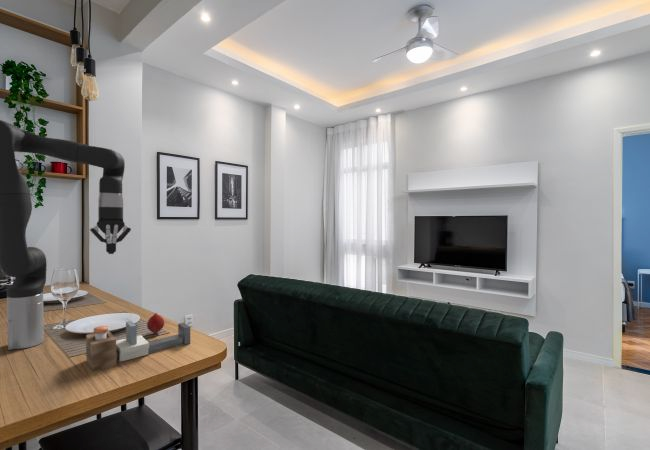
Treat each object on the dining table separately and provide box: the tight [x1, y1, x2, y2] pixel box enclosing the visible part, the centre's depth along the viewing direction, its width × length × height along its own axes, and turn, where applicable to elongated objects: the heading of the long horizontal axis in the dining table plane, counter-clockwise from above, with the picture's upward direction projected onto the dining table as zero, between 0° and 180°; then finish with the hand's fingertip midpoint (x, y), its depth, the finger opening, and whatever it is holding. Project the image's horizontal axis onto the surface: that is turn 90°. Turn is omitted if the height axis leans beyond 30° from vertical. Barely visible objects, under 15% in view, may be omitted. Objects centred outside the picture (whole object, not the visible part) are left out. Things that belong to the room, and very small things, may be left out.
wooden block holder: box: [85, 329, 117, 373], centre depth 102 cm, size 6×10×8 cm, turn 44°
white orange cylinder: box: [93, 325, 109, 340], centre depth 101 cm, size 4×4×8 cm
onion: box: [146, 312, 165, 335], centre depth 126 cm, size 6×6×8 cm
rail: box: [116, 322, 191, 363], centre depth 112 cm, size 23×6×6 cm, turn 134°
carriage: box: [116, 320, 149, 362], centre depth 107 cm, size 8×9×10 cm
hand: (111, 253), depth 121 cm, fingers closed
